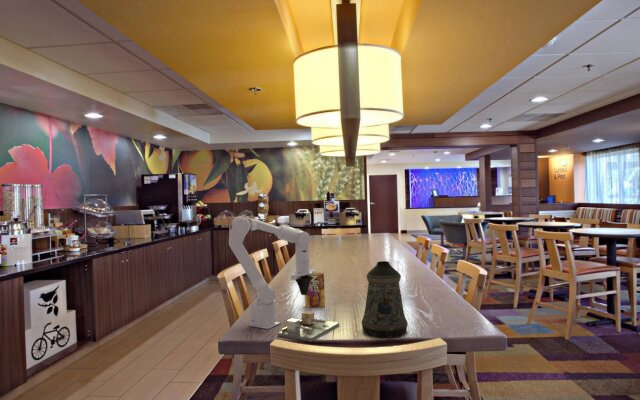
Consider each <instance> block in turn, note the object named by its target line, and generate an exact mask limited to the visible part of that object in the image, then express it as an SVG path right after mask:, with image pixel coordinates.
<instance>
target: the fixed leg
mask: <svg viewBox="0 0 640 400" xmlns="http://www.w3.org/2000/svg"><path fill="white" fill-rule="evenodd" d="M300 320H301V319H297V318H292V317H291V318H289V319H288V320H286V327H287V332H292V333H296V332H298V331H300V329H306V330H312V328H309V327H303V326H300Z"/></svg>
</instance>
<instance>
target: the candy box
mask: <svg viewBox="0 0 640 400" xmlns="http://www.w3.org/2000/svg"><path fill="white" fill-rule="evenodd" d="M309 276H312V279H311V281H310V284H309V287H308V292H307V295H304V301H305V302H304V306H305V307H306V309H311V308H321V307H326V296H325V295H326V294H325V293H326V292H325V291H326V290H325V273H324V271H315V274H310V275H309Z"/></svg>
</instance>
